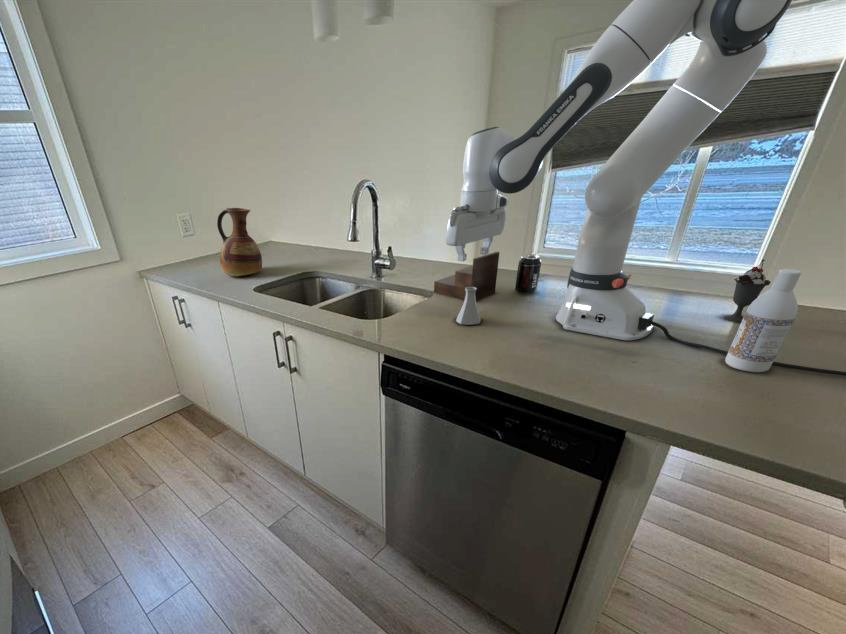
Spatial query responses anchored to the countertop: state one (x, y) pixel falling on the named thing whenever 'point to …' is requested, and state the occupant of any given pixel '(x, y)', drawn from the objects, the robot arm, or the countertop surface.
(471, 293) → the flask
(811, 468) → the countertop surface
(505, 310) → the countertop surface
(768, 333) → the bath foam
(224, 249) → the ceramic pitcher
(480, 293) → the spice rack
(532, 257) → the beverage can
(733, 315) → the sundae
